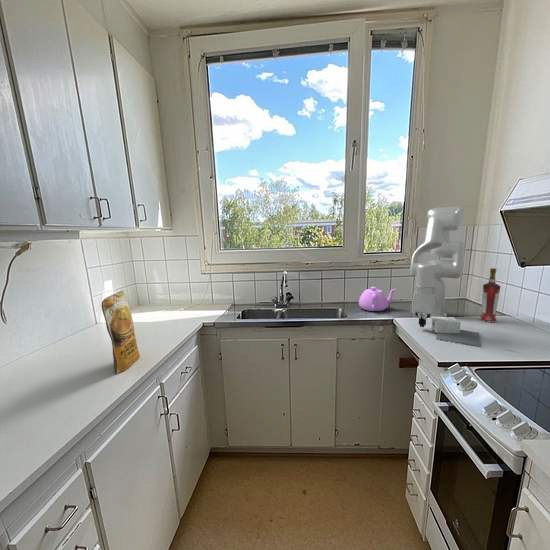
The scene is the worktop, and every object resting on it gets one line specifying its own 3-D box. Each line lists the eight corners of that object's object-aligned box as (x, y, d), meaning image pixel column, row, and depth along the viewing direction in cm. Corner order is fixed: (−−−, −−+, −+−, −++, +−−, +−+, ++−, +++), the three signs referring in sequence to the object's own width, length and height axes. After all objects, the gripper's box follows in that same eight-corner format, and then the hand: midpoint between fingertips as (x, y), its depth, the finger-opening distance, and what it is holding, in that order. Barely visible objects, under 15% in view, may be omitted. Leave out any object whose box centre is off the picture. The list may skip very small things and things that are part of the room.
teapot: (397, 315, 164) (398, 291, 162) (358, 312, 170) (359, 290, 168) (393, 305, 185) (394, 284, 183) (358, 303, 191) (359, 283, 189)
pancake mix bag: (102, 376, 102) (92, 300, 97) (129, 353, 120) (122, 288, 116) (121, 376, 102) (112, 299, 97) (145, 353, 120) (138, 288, 116)
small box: (435, 332, 135) (460, 333, 132) (436, 321, 134) (461, 322, 132) (429, 327, 142) (453, 328, 140) (430, 316, 142) (454, 317, 139)
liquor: (479, 317, 157) (484, 267, 152) (496, 319, 153) (501, 268, 148) (479, 321, 151) (484, 269, 146) (497, 323, 147) (503, 269, 142)
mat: (440, 327, 143) (440, 326, 143) (479, 333, 134) (479, 332, 134) (436, 339, 128) (436, 338, 128) (479, 347, 119) (479, 345, 119)
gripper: (443, 290, 136) (440, 326, 139) (409, 286, 145) (407, 321, 148) (441, 293, 130) (438, 331, 133) (406, 289, 139) (404, 325, 141)
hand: (422, 326), depth 140 cm, fingers closed
